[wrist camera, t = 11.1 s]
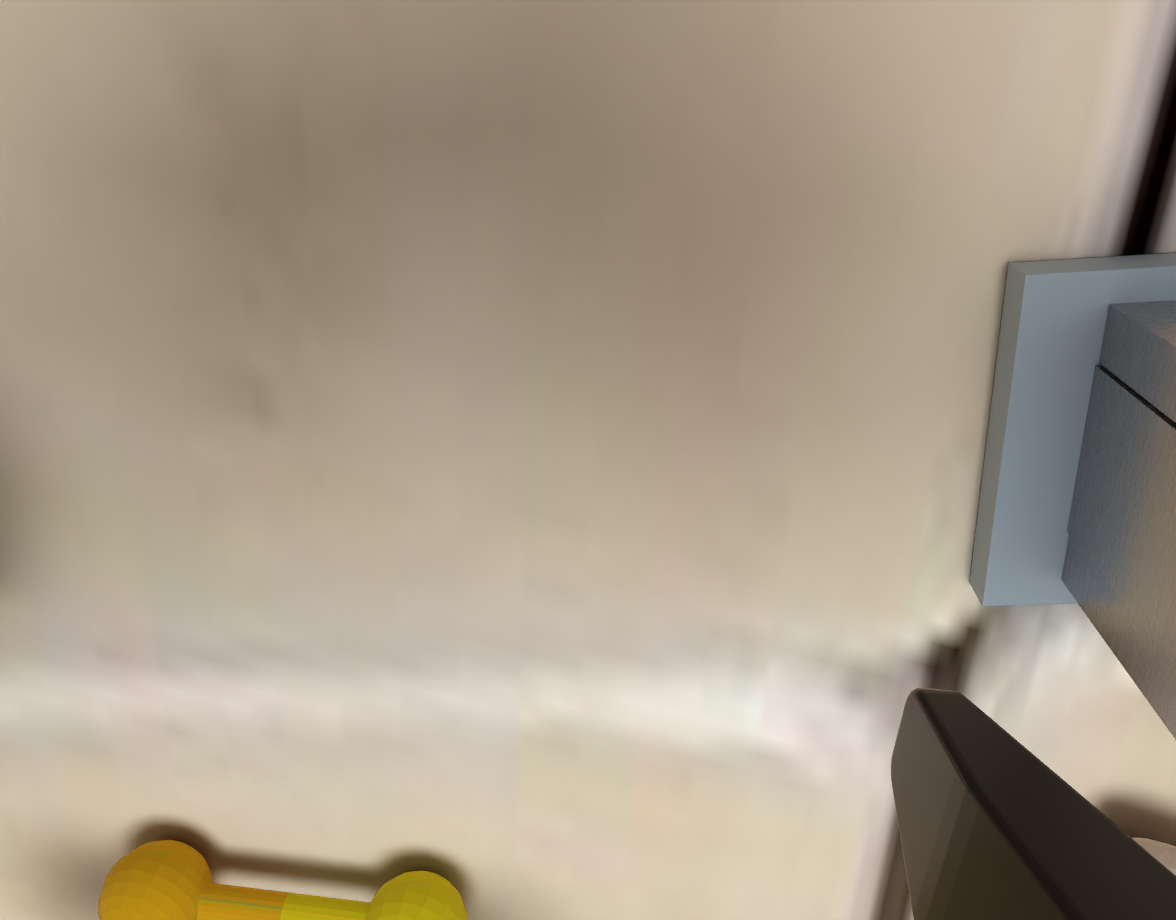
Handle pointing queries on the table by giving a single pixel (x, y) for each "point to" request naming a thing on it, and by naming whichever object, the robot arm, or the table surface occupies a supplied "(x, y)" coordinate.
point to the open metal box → (1131, 500)
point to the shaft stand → (1046, 415)
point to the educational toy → (254, 894)
